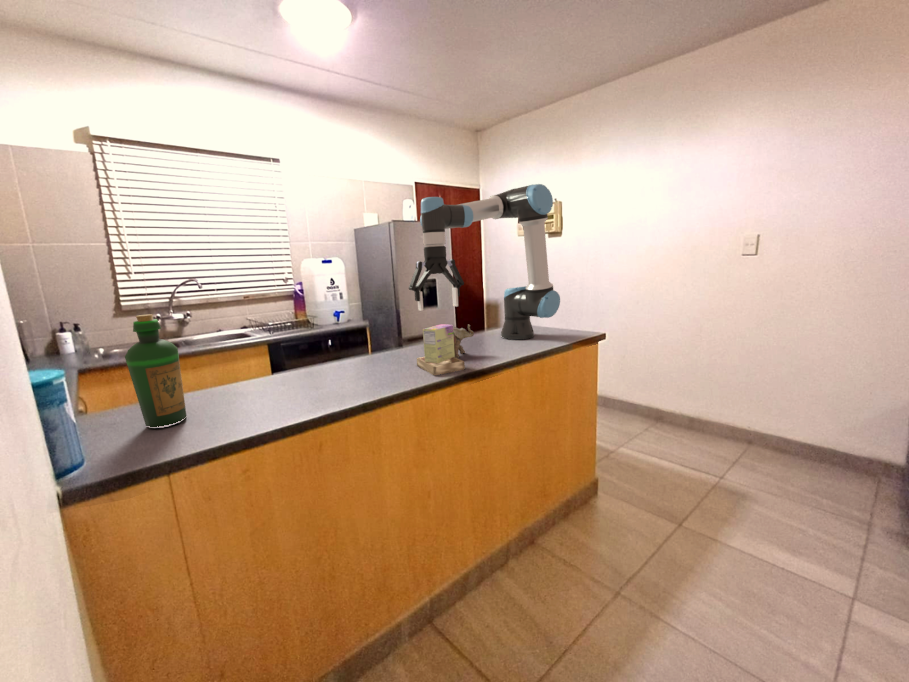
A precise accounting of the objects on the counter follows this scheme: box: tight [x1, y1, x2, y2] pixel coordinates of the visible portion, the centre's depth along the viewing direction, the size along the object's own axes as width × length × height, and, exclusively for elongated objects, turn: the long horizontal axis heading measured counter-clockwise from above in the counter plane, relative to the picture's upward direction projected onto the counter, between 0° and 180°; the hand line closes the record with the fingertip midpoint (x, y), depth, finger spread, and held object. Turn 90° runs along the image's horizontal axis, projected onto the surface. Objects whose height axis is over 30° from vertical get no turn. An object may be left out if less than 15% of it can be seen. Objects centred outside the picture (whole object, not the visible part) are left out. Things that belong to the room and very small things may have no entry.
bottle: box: [124, 313, 187, 427], centre depth 99 cm, size 11×11×28 cm
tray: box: [416, 356, 466, 377], centre depth 140 cm, size 12×15×3 cm
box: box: [422, 323, 455, 364], centre depth 138 cm, size 10×6×12 cm, turn 145°
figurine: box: [453, 324, 475, 359], centre depth 154 cm, size 10×14×15 cm, turn 88°
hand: (438, 308), depth 139 cm, fingers open, 13 cm apart
